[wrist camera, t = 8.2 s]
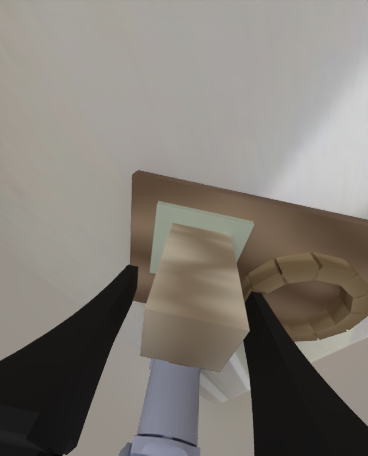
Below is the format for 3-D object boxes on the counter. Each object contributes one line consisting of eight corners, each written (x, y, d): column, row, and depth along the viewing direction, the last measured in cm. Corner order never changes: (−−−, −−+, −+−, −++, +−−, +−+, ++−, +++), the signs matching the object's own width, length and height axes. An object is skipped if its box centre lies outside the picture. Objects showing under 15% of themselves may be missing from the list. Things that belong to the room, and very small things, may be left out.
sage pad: (224, 284, 17) (224, 288, 16) (151, 268, 17) (149, 272, 16) (252, 221, 13) (254, 224, 13) (158, 200, 13) (157, 203, 13)
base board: (310, 328, 21) (322, 354, 18) (133, 290, 21) (123, 312, 18) (416, 230, 13) (459, 254, 11) (138, 170, 13) (123, 181, 11)
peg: (231, 235, 13) (249, 330, 7) (214, 276, 16) (219, 373, 10) (172, 222, 13) (144, 308, 7) (165, 266, 16) (140, 356, 10)
